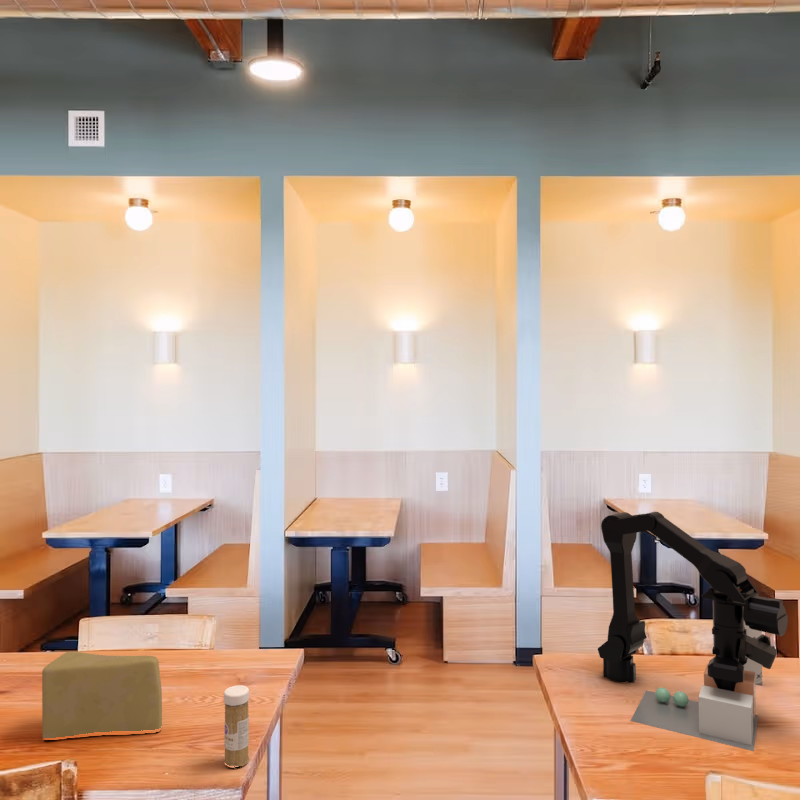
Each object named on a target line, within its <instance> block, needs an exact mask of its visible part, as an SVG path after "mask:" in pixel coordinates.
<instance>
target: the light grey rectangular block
mask: <svg viewBox="0 0 800 800" xmlns="http://www.w3.org/2000/svg"><path fill="white" fill-rule="evenodd" d="M699 691H700V692H699V695H698V702H699V733H703V734H707V735H711V736H715V737H719V738H723V739H727V740H732V741H736V742H740V743H744V744H748V745H752V738H753V695H748V694H743V693H738V692H733V691H728V690H723V689H719V688H714V687H709V686H704V684H702V685H701V689H700V690H699Z"/></svg>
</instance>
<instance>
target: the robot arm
mask: <svg viewBox="0 0 800 800" xmlns="http://www.w3.org/2000/svg"><path fill="white" fill-rule="evenodd" d="M600 524H601V525H600V530H601V534H602V538H603V542H604V543H605V546H606V547H607V549H608V551H609V554H610V555H609V556H610V570H611V571H610V573H611V576H610V577H611V590H612V591H611V592H612V608H613V614H612V617H611V619H610V621H609V622H610V623H609V625H608V632H607V641H605V642H604V643H603V644H601V645H600V646H599V647H597V652H598V656H599V658H600V659H603V660H602V669H603V671H602V672H603V675H602V677H603V678H606V679H608V680H609V681H612V682H615V683H629V684H630V683H632V684H633V683H635V681H636V680H637V664H636V663H635V662H634V655H636V654H637V652H638V650H639V649H640V648H642V646H643V645H644V642H645V639H647V635H646V621H645V620H640V619H639V617H638V615H637V614H636V609H635V607H636V605H635V593H634V591H635V590H634V575H633V574H634V573H633V558H632V556H633V555H632V551H633V548H634V545H635V543H636V541H637V535H638V533H641V532H649V533H651V534H652V535H653V536H655V537H656V538H657V539H659V540H660V541H661V542H663V543H664V544H665V545H667V546H668V547H669V548H670V549H672V550H674V552H676V553H677V554H678V555H680V556H681V557H682V558H684V559H685V560H686V561H688V562H689V563H691V564H692V565H693V567H695V568H696V569H697V571H698V573H699V574H700V576H701V578H702V579H703V580H704V581H705V582H706V583H707V584H708V585H710V587H709V588H708V590H707V591H706V592H705V593H703V594H701V598H702V599H705V600H711V601H712V629H711V634H712V635H713V636H712V637H713V638H712V639H713V647H712V649H711V651H712V652H711V653H712V655H715V656H714V657H712V658H711V659H709V661H708V676H710V677H712V678H713V679H714V681H715V683H716V685H717V687H718V688H719V689H723V690H728V691H733V692H734V690H735V685H736V683H738V682H739V683H741V682H743V680H744V666H743V665H744V664H746V663H747V659H748V658H749V659H751V660H753V661H755V662H757V663H759V664H761V665H762V668H765V669H768V670H770V669H771V668H772V666H773V664H774V662H775V659H776V658H777V655H778V654H777V651H778V650H777V649H776V646H775V645H772V644H771V638H770V636H768V635H765V634H762V635H761V636H759V637H758V638H755V637H753V638H752V637H750V636H747V629H745V627H744V622H745V625H746V626H749V628H750V629H753V630H758V631H762V633H767V634H771V635H776V636H779V637H783V636H784V635H785V634H786V631H787V628H788V620H789V619H788V617H789V615H788V613H787V611H786V607H785V606H784V600H783V599H781V598H775V597H774V598H771V597H770V598H769V597H765V596H760V593H759V591H758V590H757V588H756V587H755V586H754V585H753V583H752V581H750V579H749V578H748V575H747V572H746V568H745V566H743V565H742V563H740V562H738V561H737V560H736V559H735V560H734V559H733V558H731V557H729V556H727V555H725V554H721V553H719V552H716V551H713V550H712V549H710V548H707V547H706V546H705V545H704V544H702V543H701V542H700V541H698V540H696V538H694V537H692V536H691V535H689V534H688V533H687V532H685V531H684V530H682V529H681V528H680V527H678V526H677V524H674V523H673V522H672V521H670V520H669V519H668V518H666V517H665V516H664V515H663V514H662V513H661V512H659V511H652V512H651V511H650V512H647V513H639V514H633V515H632V514H630V513H628V512H618V513H614V514H609V515H607V516H605V517H604V518H603V520H601V523H600Z"/></svg>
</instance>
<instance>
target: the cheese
mask: <svg viewBox="0 0 800 800" xmlns="http://www.w3.org/2000/svg"><path fill="white" fill-rule="evenodd" d="M41 675H42V676H41V677H42V678H41V683H42V686H41V688H42V689H41V697H42V698H41V700H42V702H41V703H42V704H41V706H42V707H41V709H42V710H41V712H42V715H41V716H42V719H41V721H42V723H41V724H42V727H41V728H42V739H43V738H56V737H65V736H74V735H79V734H86V733H87V734H88V733H94V732H110V731H111V732H112V731H141V730H142V731H143V730H155V729H159V728H161V726H162V727H163V695H162V694H163V693H162V681H161V672H160V664H159V659H158V657H156V656H154V655H103V654H96V653H88V652H87V653H86V652H79V651H67V652H64V653H63V654H61V655H60V656H59V657H56V658H54V660H53V661H51V662H50V663H48V664H47V665H46V666H44V667H43V669H42V673H41Z"/></svg>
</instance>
